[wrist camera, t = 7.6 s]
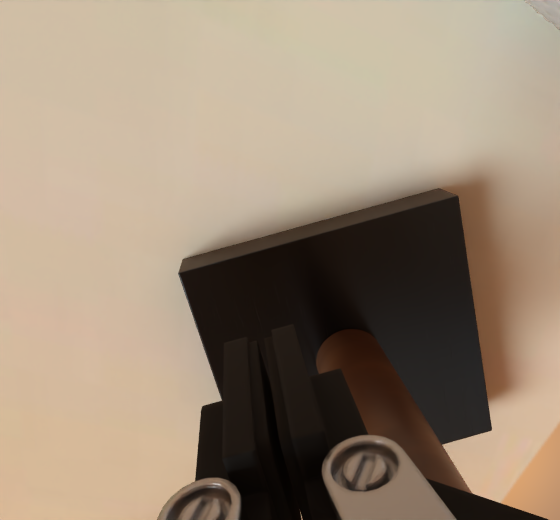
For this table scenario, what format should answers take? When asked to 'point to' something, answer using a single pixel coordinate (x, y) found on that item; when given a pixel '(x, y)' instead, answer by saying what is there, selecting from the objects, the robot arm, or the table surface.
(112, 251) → the table surface
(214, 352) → the towel holder
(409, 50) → the table surface
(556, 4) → the cereal bowl
